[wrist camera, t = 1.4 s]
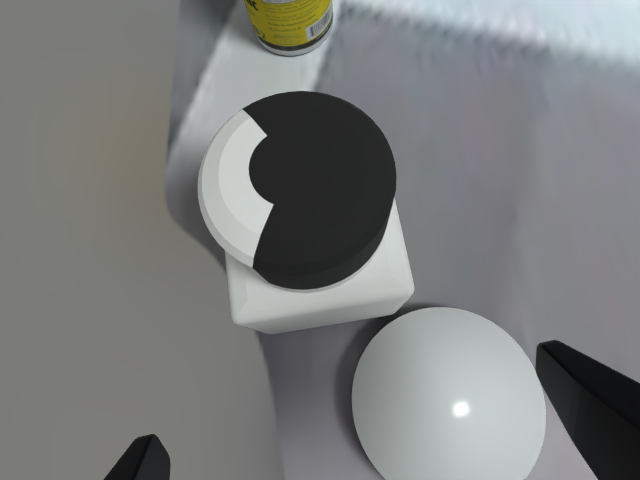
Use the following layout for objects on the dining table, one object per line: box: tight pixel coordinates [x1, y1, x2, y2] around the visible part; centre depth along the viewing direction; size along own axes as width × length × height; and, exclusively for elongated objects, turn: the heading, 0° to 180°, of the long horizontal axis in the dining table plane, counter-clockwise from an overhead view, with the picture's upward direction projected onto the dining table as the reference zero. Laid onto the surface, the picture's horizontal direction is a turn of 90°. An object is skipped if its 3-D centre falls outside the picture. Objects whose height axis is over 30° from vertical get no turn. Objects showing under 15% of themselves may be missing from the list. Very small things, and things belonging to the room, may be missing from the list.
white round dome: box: [352, 307, 546, 480], centre depth 20 cm, size 9×9×1 cm
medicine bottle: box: [198, 91, 414, 334], centre depth 18 cm, size 7×7×12 cm
